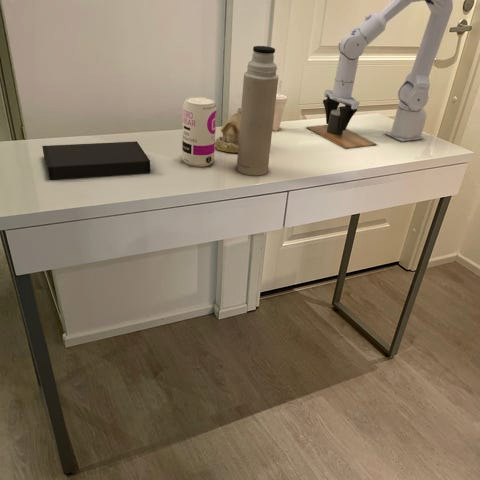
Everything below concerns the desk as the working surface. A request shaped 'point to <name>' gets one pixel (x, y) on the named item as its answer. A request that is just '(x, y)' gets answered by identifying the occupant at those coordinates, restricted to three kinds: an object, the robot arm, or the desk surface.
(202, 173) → the desk surface
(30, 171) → the desk surface
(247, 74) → the thermos bottle
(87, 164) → the external hard drive
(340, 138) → the brown wooden board
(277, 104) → the smoothie
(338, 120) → the thermos cap
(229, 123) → the ceramic model
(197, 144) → the supplement can
